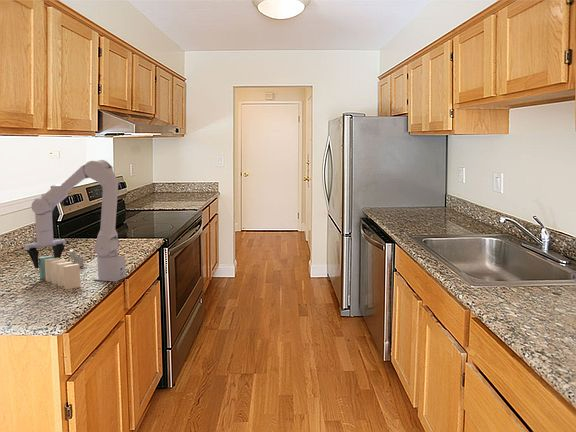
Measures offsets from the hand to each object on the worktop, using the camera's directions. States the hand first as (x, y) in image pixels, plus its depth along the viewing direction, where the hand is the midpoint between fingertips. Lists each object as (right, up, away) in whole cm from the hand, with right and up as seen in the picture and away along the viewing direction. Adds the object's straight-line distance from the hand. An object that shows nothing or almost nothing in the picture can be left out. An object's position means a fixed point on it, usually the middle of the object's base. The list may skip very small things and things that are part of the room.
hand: (46, 266), depth 201 cm
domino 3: (+11, -6, -9) cm, 16 cm away
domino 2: (+7, -5, -6) cm, 11 cm away
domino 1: (+4, -5, -3) cm, 7 cm away
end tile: (0, -4, +1) cm, 5 cm away
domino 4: (+15, -6, -13) cm, 21 cm away
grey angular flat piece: (+4, -2, +17) cm, 18 cm away
